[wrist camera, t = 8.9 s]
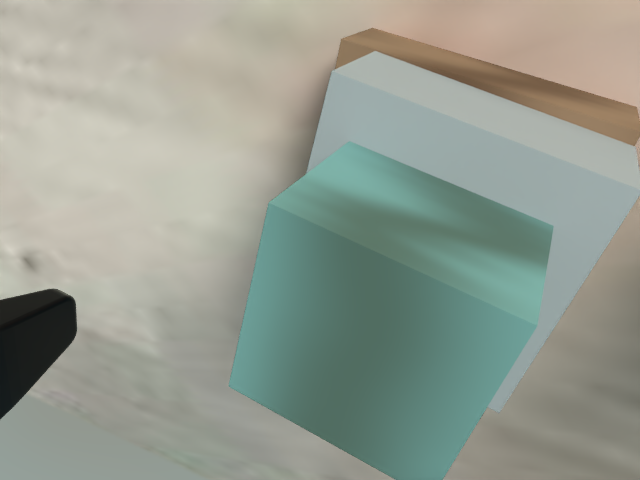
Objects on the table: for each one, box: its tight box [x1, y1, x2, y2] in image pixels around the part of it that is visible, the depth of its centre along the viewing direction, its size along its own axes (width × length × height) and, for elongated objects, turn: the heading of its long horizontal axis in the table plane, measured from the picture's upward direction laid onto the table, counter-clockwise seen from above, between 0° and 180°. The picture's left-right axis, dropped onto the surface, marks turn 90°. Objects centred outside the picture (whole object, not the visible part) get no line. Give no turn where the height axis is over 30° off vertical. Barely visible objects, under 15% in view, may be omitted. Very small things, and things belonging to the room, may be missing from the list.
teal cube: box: [229, 141, 554, 480], centre depth 12 cm, size 5×5×4 cm
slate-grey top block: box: [306, 51, 640, 413], centre depth 15 cm, size 7×7×3 cm
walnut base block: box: [335, 28, 640, 146], centre depth 18 cm, size 8×8×3 cm
